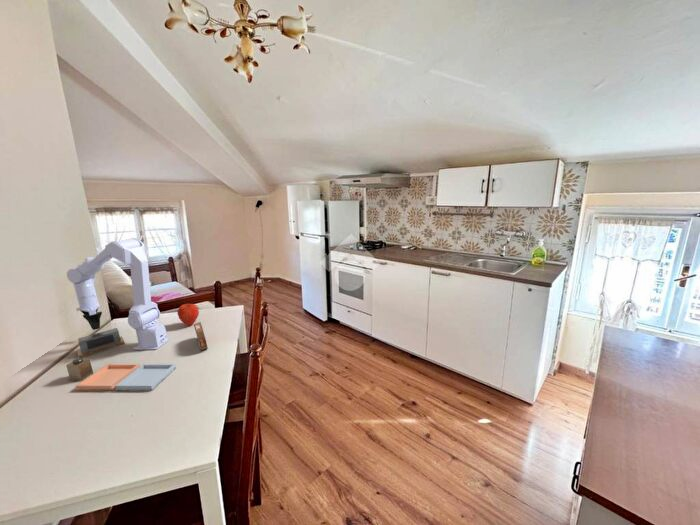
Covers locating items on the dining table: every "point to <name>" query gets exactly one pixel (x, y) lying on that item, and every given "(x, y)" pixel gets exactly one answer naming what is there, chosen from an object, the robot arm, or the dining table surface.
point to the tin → (200, 336)
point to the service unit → (99, 342)
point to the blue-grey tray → (146, 377)
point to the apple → (188, 314)
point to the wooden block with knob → (79, 369)
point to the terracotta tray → (107, 377)
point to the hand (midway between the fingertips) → (94, 326)
